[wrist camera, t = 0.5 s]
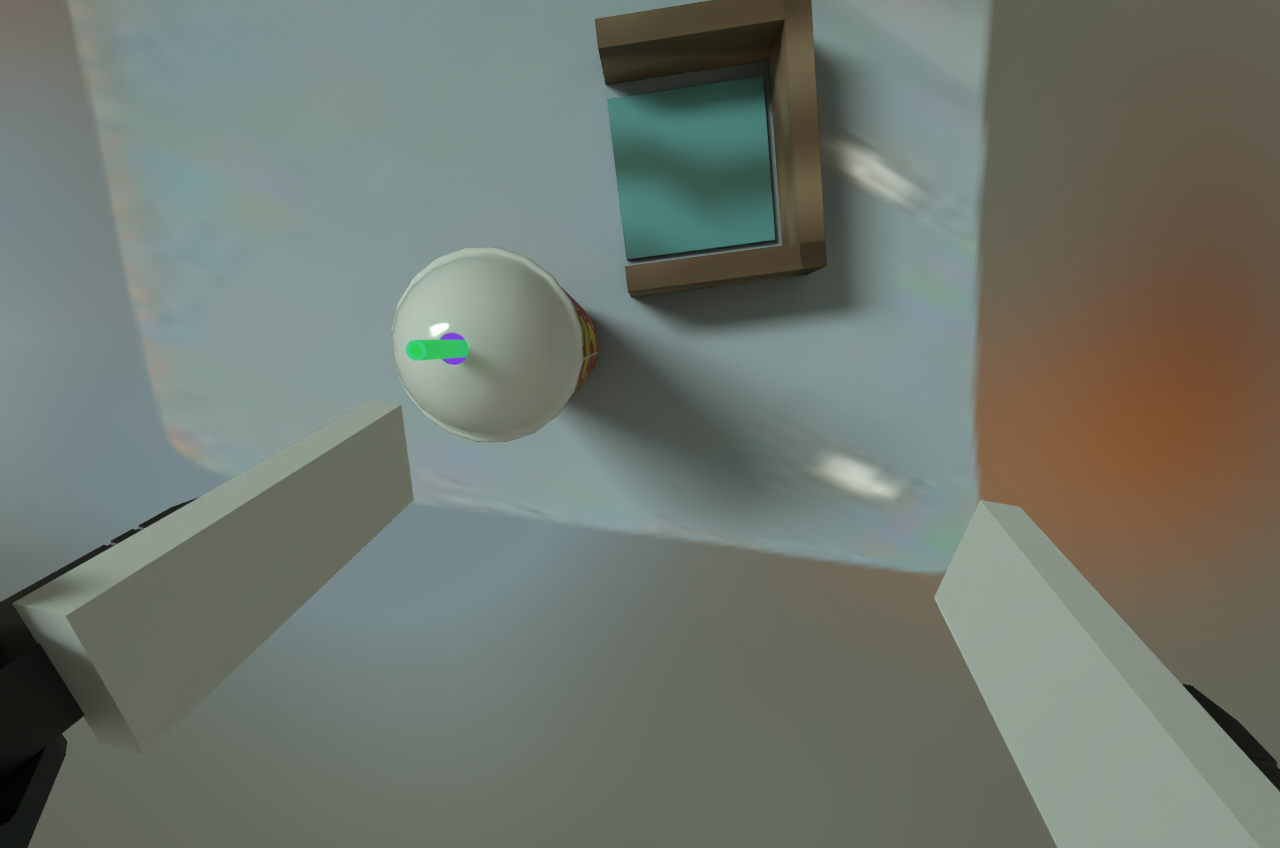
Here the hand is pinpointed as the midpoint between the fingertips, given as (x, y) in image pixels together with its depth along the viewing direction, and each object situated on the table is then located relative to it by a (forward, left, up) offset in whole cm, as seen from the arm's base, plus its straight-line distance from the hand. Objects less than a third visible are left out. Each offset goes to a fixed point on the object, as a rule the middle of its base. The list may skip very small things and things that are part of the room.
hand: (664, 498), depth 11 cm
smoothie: (-4, -7, -24) cm, 26 cm away
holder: (-15, +3, -24) cm, 28 cm away
